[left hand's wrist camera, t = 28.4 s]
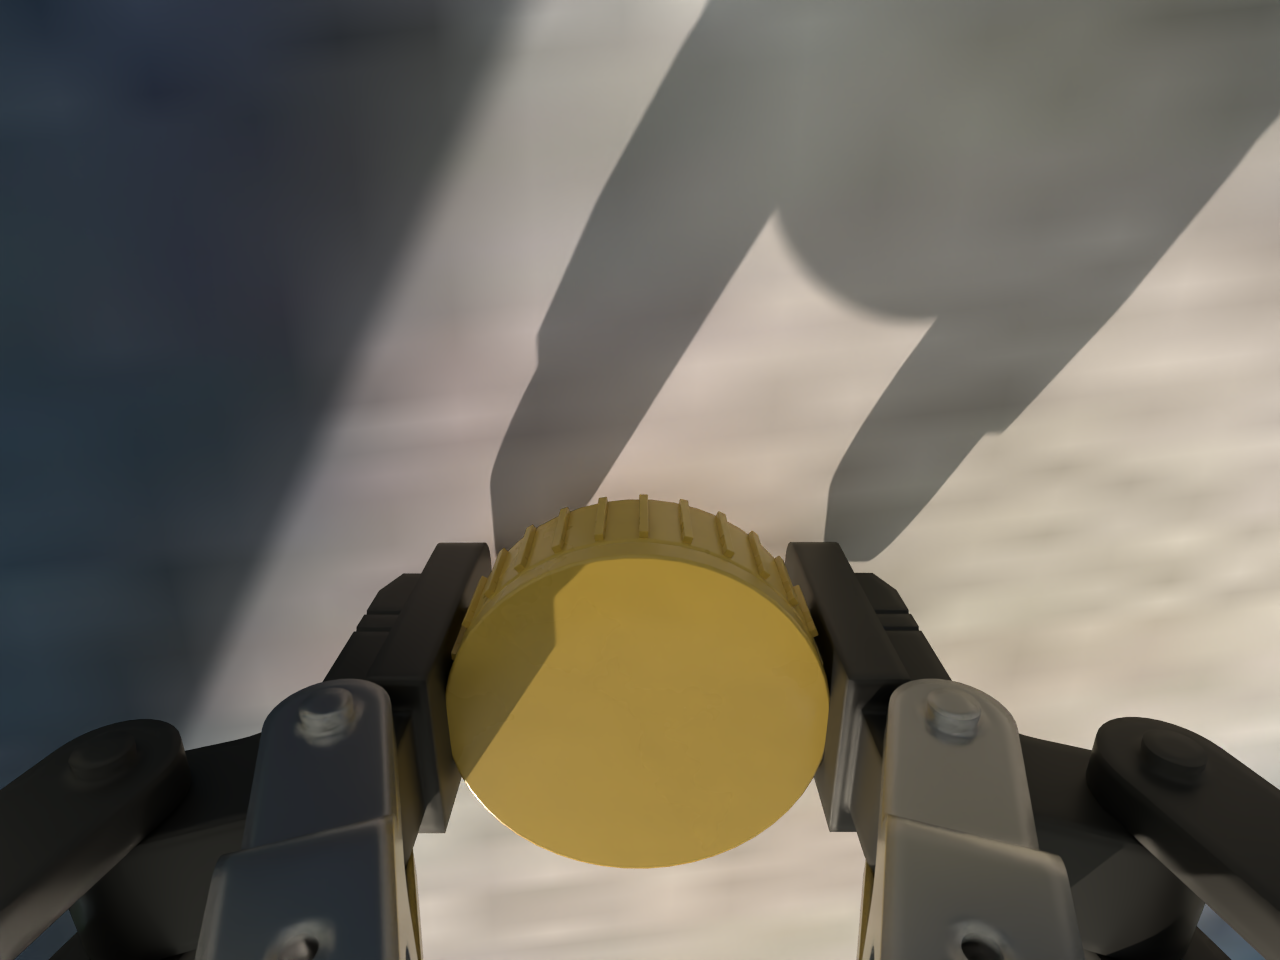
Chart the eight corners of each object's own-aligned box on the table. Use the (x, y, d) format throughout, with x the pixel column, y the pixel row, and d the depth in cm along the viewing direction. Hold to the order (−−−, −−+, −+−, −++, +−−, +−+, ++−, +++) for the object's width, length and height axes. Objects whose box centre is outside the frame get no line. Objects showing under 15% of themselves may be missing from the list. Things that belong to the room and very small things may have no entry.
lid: (422, 525, 10) (383, 587, 9) (790, 461, 10) (817, 514, 8) (512, 803, 12) (494, 895, 10) (826, 759, 11) (854, 846, 10)
